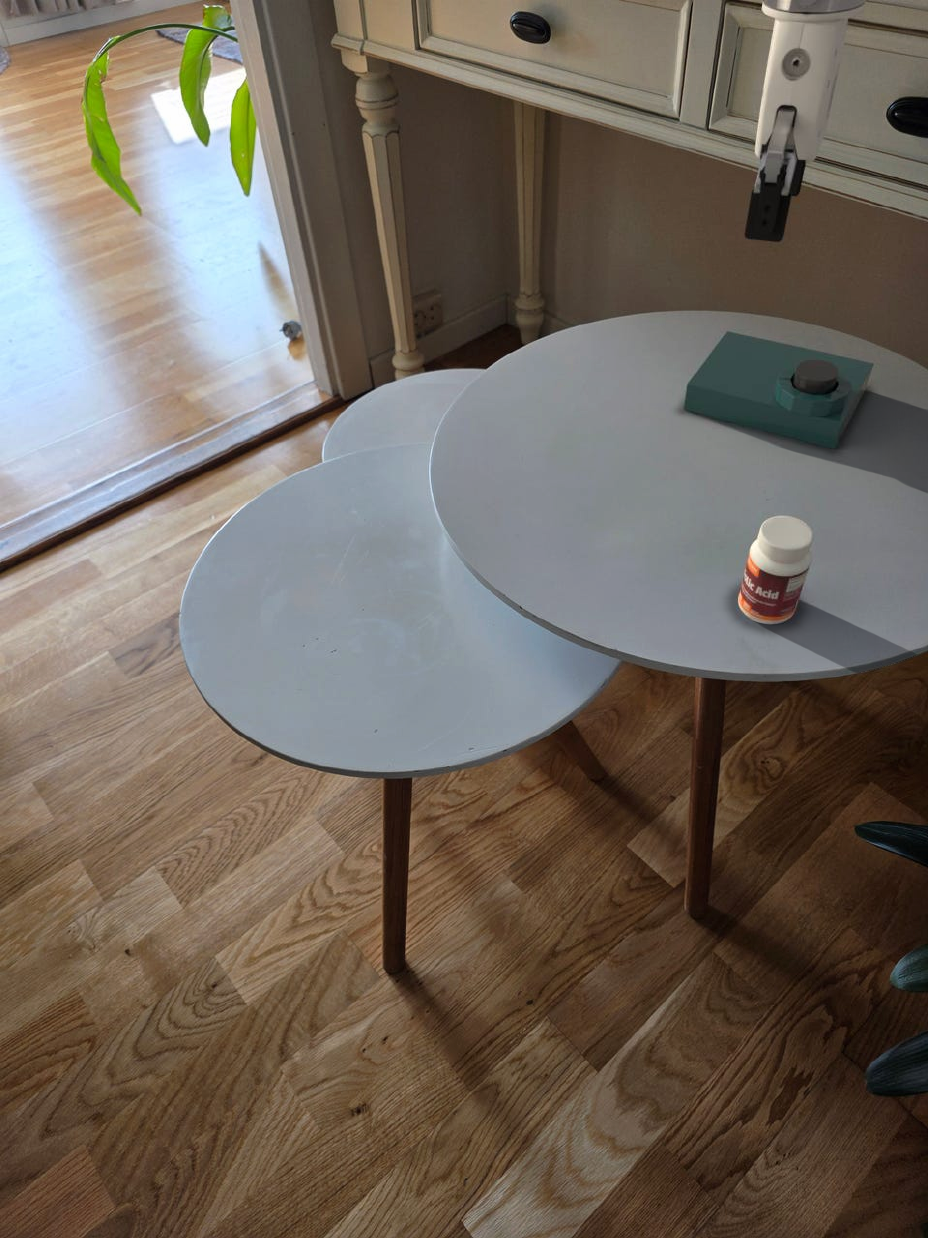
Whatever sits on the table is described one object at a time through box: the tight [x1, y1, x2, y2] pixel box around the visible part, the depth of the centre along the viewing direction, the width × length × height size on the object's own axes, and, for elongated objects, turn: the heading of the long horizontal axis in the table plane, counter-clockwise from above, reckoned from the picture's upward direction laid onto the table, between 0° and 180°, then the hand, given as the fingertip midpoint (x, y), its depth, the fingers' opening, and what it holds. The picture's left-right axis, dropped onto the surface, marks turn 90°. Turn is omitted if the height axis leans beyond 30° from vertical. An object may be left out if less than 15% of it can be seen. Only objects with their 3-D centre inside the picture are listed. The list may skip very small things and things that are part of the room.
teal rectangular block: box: [683, 330, 875, 450], centre depth 92 cm, size 16×12×5 cm
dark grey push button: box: [793, 360, 839, 395], centre depth 87 cm, size 4×4×2 cm
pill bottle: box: [737, 515, 814, 625], centre depth 71 cm, size 5×5×8 cm
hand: (772, 215), depth 78 cm, fingers open, 9 cm apart
